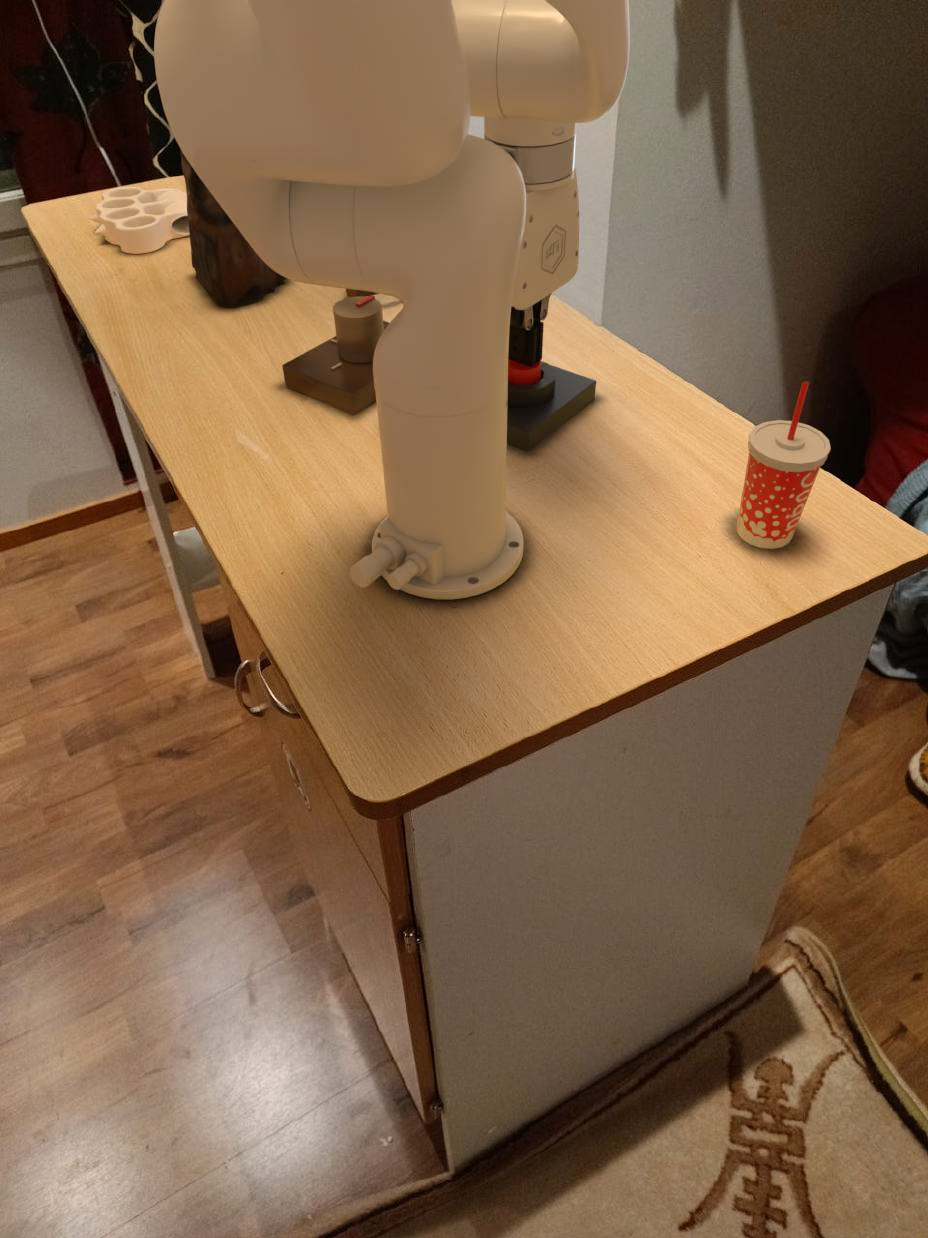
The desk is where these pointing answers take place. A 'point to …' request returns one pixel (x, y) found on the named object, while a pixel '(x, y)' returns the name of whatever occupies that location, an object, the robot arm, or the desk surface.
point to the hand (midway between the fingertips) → (523, 359)
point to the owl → (223, 250)
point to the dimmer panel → (332, 378)
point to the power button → (523, 373)
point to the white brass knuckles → (142, 218)
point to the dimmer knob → (358, 327)
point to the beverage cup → (779, 478)
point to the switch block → (545, 405)
